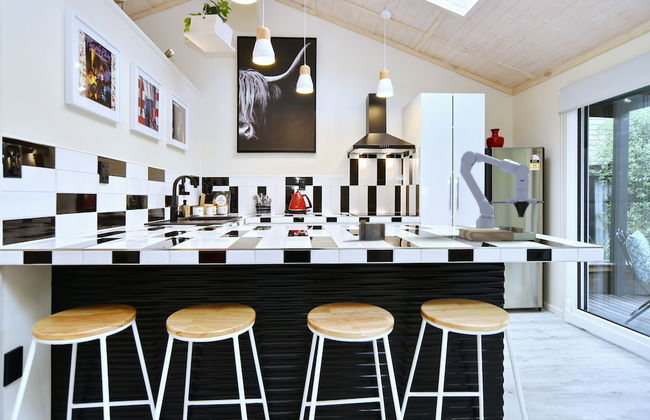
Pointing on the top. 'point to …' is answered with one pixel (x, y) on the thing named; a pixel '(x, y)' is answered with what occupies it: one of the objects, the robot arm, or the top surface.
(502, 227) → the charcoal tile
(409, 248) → the top surface
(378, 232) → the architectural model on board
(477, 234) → the oak bench
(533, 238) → the bin
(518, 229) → the walnut tile
